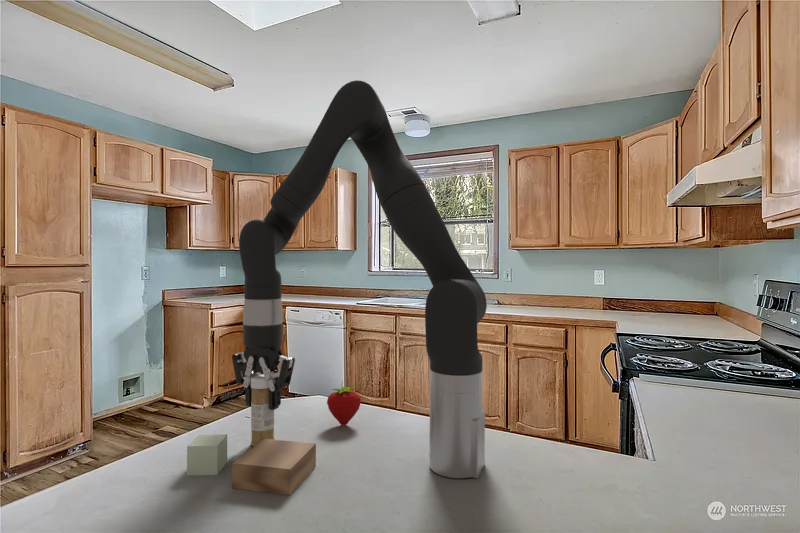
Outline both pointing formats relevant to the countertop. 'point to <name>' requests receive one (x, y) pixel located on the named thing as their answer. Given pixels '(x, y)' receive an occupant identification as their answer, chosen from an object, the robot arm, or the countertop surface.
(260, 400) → the sprinkles bottle
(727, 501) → the countertop surface
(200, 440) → the sage cube
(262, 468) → the walnut block
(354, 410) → the strawberry
